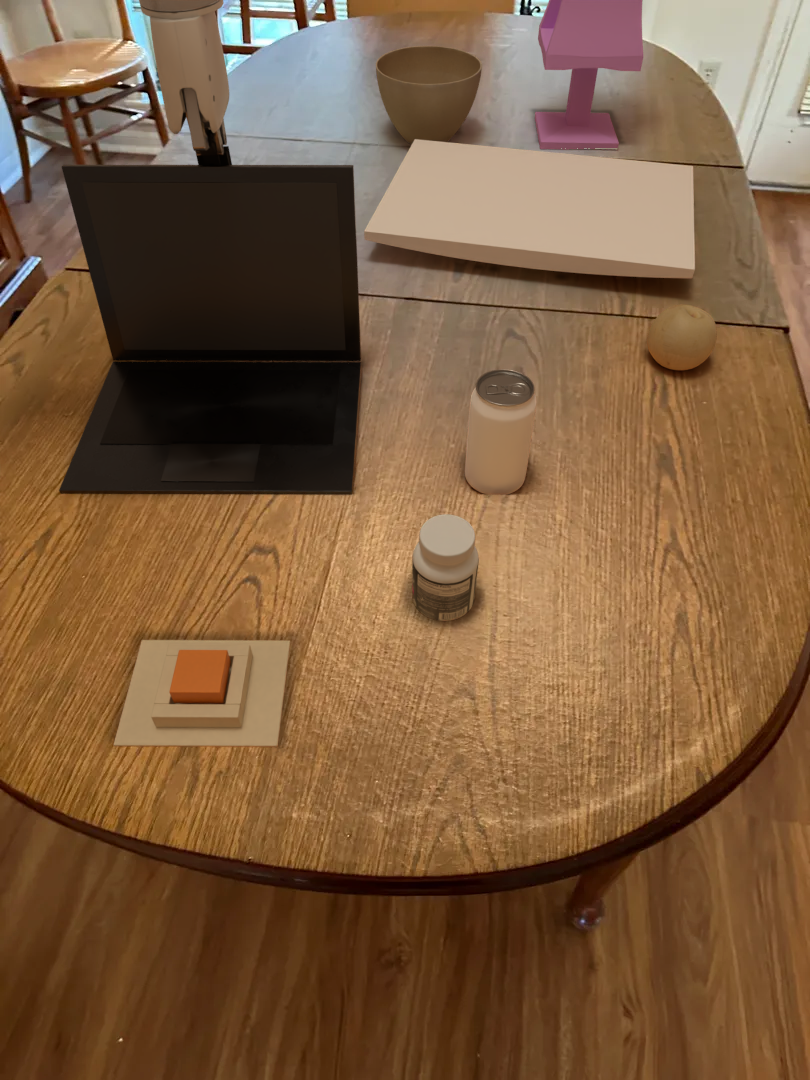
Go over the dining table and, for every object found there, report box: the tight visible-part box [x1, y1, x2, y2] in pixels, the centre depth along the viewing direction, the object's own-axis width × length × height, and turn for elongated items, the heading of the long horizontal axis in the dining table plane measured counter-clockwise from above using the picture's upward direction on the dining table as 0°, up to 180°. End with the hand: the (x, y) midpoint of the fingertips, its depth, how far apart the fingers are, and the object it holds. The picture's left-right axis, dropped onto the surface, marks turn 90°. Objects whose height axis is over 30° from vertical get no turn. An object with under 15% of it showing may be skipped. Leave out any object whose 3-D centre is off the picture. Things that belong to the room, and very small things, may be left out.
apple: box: [646, 303, 718, 371], centre depth 95 cm, size 8×8×8 cm
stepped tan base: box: [113, 639, 291, 748], centre depth 65 cm, size 13×10×3 cm
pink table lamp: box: [534, 0, 644, 150], centre depth 130 cm, size 16×16×35 cm
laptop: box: [58, 360, 363, 496], centre depth 88 cm, size 22×30×2 cm
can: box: [464, 368, 537, 496], centre depth 80 cm, size 6×6×12 cm
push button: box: [169, 650, 231, 703], centre depth 64 cm, size 4×4×2 cm
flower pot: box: [375, 45, 483, 145], centre depth 138 cm, size 18×18×12 cm
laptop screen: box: [61, 164, 362, 362], centre depth 88 cm, size 22×30×1 cm
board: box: [363, 139, 696, 279], centre depth 119 cm, size 45×32×5 cm
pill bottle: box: [411, 513, 480, 622], centre depth 69 cm, size 6×6×10 cm
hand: (219, 187), depth 85 cm, fingers closed
